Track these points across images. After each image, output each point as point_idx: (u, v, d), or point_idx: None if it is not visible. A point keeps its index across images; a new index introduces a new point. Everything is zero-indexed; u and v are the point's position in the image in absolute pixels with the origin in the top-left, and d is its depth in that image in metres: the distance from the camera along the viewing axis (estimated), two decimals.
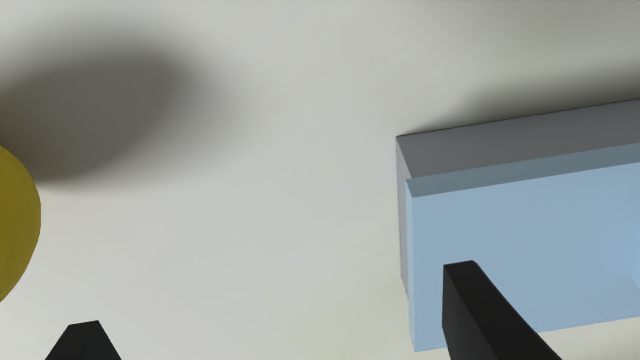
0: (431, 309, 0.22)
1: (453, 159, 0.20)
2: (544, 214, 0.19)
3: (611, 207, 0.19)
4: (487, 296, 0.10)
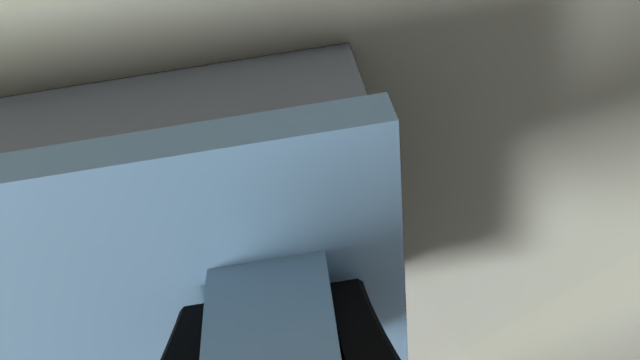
0: None
1: None
2: None
3: (111, 248, 0.10)
4: (359, 317, 0.10)
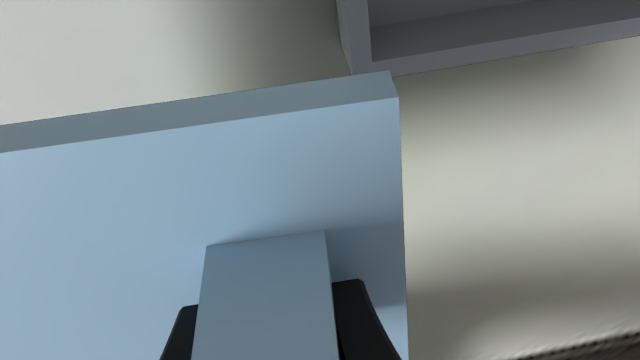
0: None
1: None
2: None
3: (111, 222, 0.11)
4: (360, 316, 0.10)
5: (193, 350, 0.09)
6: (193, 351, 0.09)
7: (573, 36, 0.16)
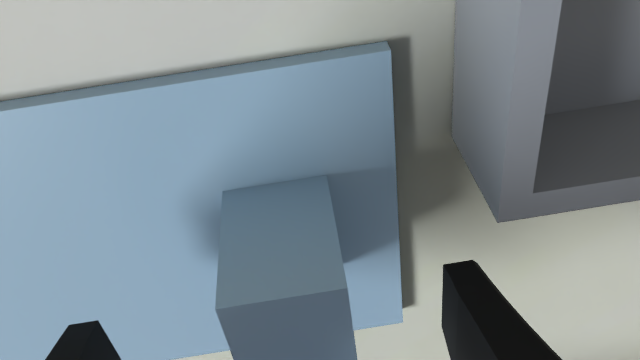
0: None
1: None
2: (27, 181, 0.12)
3: (139, 169, 0.12)
4: (487, 296, 0.10)
5: (218, 270, 0.11)
6: (218, 271, 0.11)
7: None
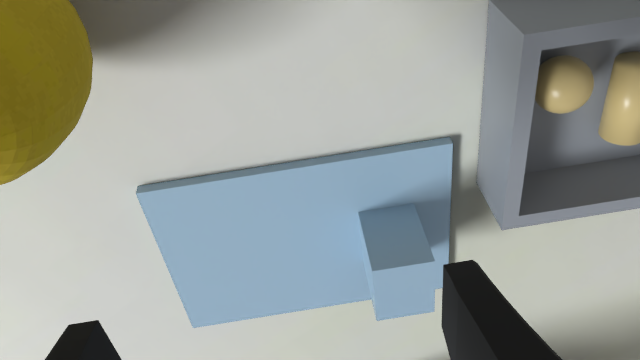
0: (192, 289, 0.25)
1: (564, 12, 0.17)
2: (260, 207, 0.23)
3: (318, 201, 0.23)
4: (487, 296, 0.10)
5: (368, 253, 0.21)
6: (367, 254, 0.22)
7: None
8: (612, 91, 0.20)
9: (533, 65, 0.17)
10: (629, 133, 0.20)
